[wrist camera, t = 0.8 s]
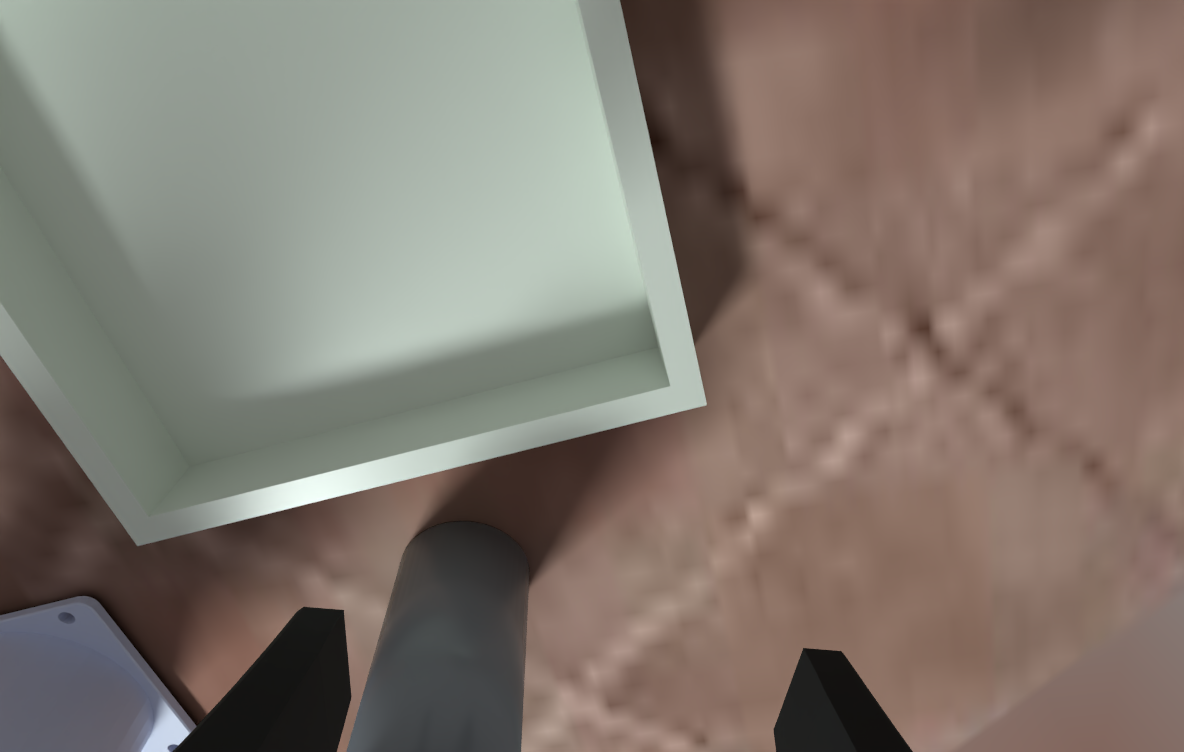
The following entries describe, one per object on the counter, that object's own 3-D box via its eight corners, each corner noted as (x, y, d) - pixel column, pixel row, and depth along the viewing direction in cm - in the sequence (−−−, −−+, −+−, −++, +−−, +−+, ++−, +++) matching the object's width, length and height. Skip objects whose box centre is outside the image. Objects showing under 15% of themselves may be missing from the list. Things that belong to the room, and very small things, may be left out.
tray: (187, 482, 22) (137, 546, 20) (-129, -11, 16) (-267, -17, 13) (687, 355, 21) (707, 405, 18) (557, -233, 15) (558, -287, 12)
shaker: (425, 633, 26) (358, 949, 17) (376, 537, 24) (271, 840, 15) (548, 605, 25) (544, 912, 17) (508, 505, 23) (481, 795, 15)
